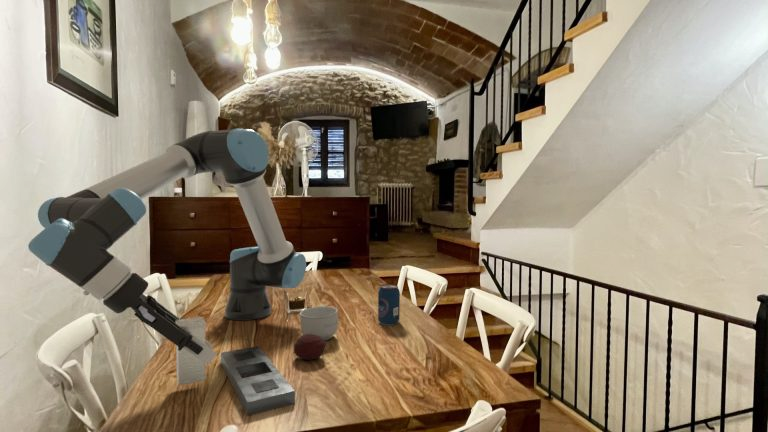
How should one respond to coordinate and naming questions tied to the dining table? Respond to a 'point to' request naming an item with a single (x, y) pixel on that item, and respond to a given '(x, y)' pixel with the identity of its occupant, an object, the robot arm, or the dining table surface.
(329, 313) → the teacup
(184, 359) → the grey rectangular block
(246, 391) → the grey board with recesses
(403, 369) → the dining table surface
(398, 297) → the soda can
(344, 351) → the dining table surface
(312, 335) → the potato
